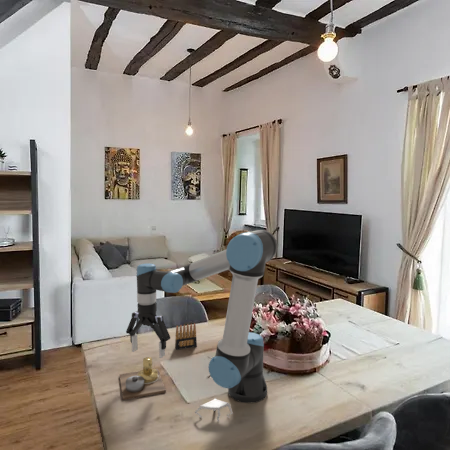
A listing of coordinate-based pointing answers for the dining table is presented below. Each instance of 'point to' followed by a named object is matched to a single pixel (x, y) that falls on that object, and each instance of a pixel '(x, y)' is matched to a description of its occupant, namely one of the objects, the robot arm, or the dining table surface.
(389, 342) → the dining table surface
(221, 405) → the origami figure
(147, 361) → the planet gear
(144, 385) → the carrier plate
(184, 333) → the ammunition clip
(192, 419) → the dining table surface
